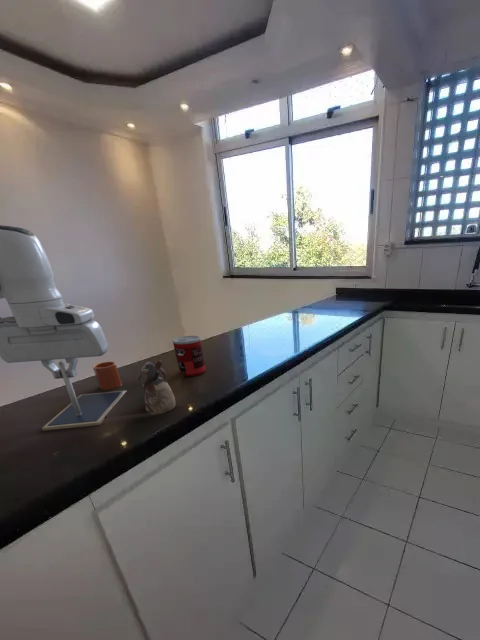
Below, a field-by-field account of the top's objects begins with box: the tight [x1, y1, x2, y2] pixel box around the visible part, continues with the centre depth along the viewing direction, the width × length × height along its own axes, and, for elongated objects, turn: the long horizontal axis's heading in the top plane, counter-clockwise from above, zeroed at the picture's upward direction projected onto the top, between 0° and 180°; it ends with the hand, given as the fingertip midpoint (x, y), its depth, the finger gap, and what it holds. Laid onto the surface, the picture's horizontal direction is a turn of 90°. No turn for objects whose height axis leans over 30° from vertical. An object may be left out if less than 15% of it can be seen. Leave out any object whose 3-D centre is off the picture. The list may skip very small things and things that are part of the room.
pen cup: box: [92, 361, 123, 391], centre depth 89 cm, size 6×6×7 cm
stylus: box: [57, 360, 82, 416], centre depth 71 cm, size 1×1×13 cm
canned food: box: [172, 335, 206, 378], centre depth 97 cm, size 8×8×11 cm
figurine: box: [138, 360, 177, 416], centre depth 74 cm, size 7×7×12 cm
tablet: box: [41, 390, 127, 431], centre depth 77 cm, size 12×18×1 cm, turn 8°
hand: (66, 377), depth 70 cm, fingers closed on stylus, 1 cm apart
